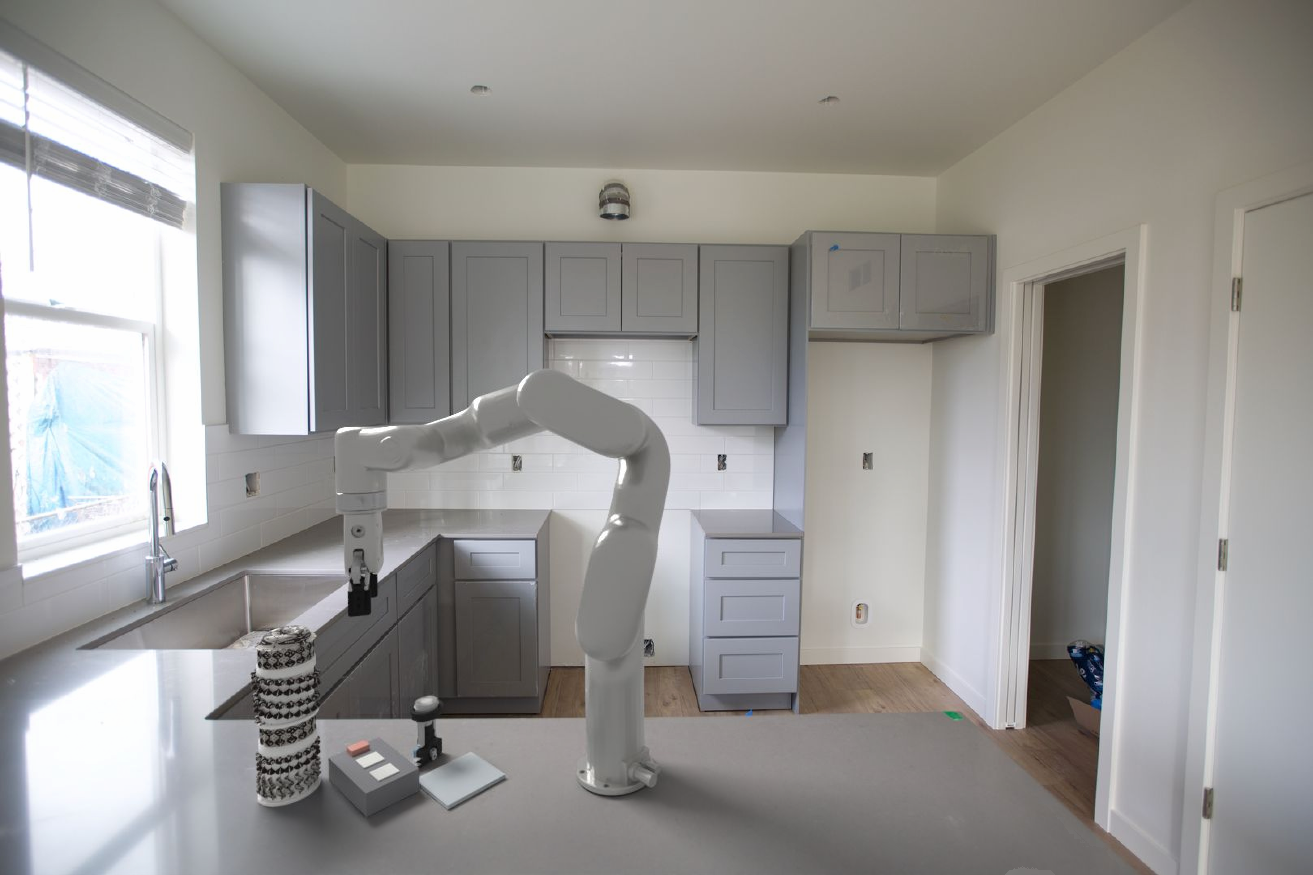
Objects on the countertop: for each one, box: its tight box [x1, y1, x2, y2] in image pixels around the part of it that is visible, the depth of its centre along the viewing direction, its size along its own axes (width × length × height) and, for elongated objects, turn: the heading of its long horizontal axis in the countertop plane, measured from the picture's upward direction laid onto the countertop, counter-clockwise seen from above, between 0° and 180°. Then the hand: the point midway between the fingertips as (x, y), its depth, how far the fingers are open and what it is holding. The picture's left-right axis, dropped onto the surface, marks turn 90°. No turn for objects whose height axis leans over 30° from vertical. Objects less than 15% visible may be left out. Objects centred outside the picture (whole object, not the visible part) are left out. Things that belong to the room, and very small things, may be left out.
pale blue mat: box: [419, 751, 506, 810], centre depth 93 cm, size 10×10×1 cm
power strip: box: [327, 736, 420, 818], centre depth 92 cm, size 14×8×4 cm, turn 49°
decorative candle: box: [250, 624, 322, 808], centre depth 91 cm, size 9×9×25 cm
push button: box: [408, 695, 444, 767], centre depth 98 cm, size 7×5×10 cm
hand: (363, 606), depth 96 cm, fingers open, 9 cm apart
